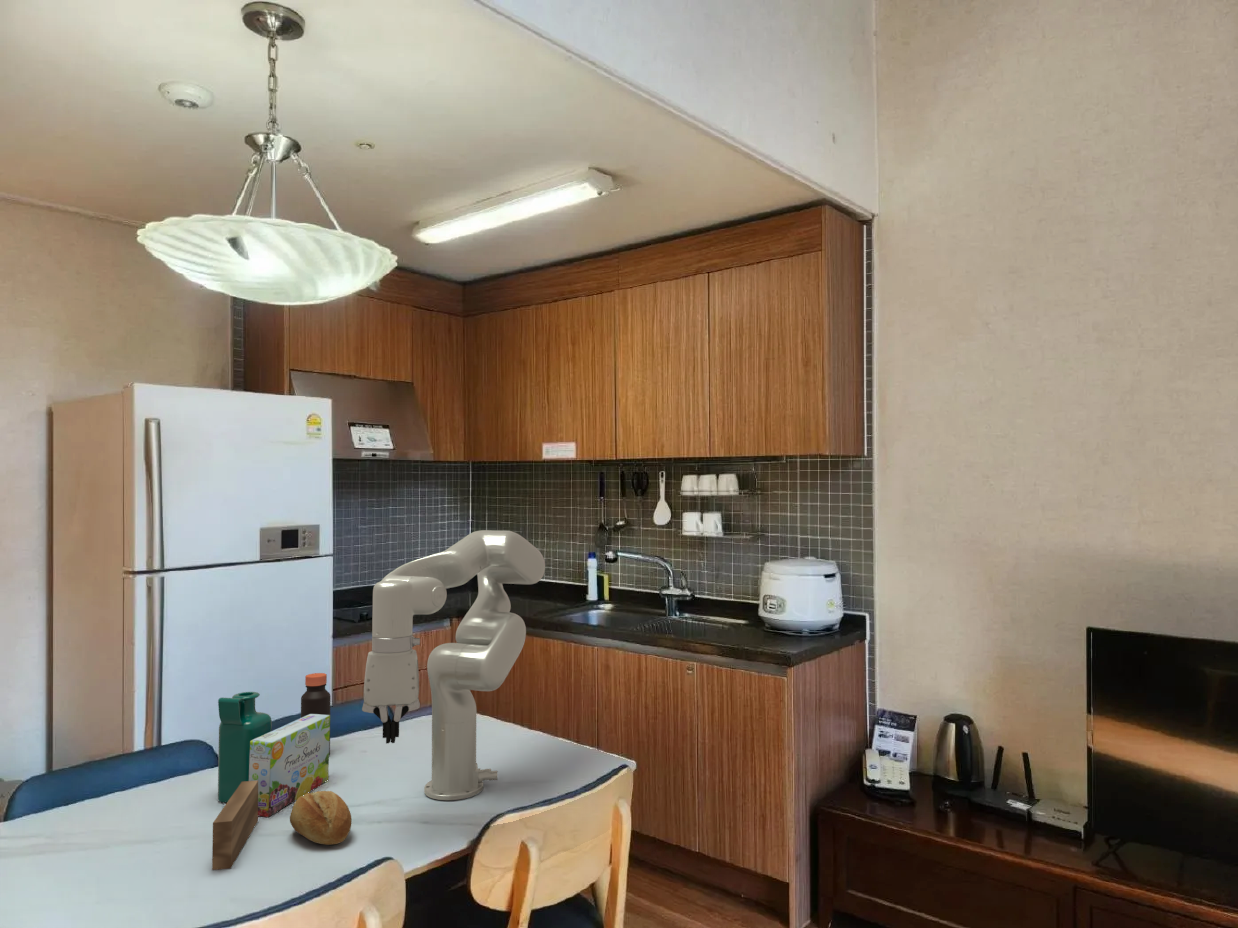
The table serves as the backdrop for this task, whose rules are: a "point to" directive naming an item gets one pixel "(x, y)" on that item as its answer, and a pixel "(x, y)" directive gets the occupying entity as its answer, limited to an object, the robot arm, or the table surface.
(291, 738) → the snack box
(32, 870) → the table surface
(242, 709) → the pitcher
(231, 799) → the walnut board
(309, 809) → the bread roll
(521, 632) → the robot arm
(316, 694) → the bottle
